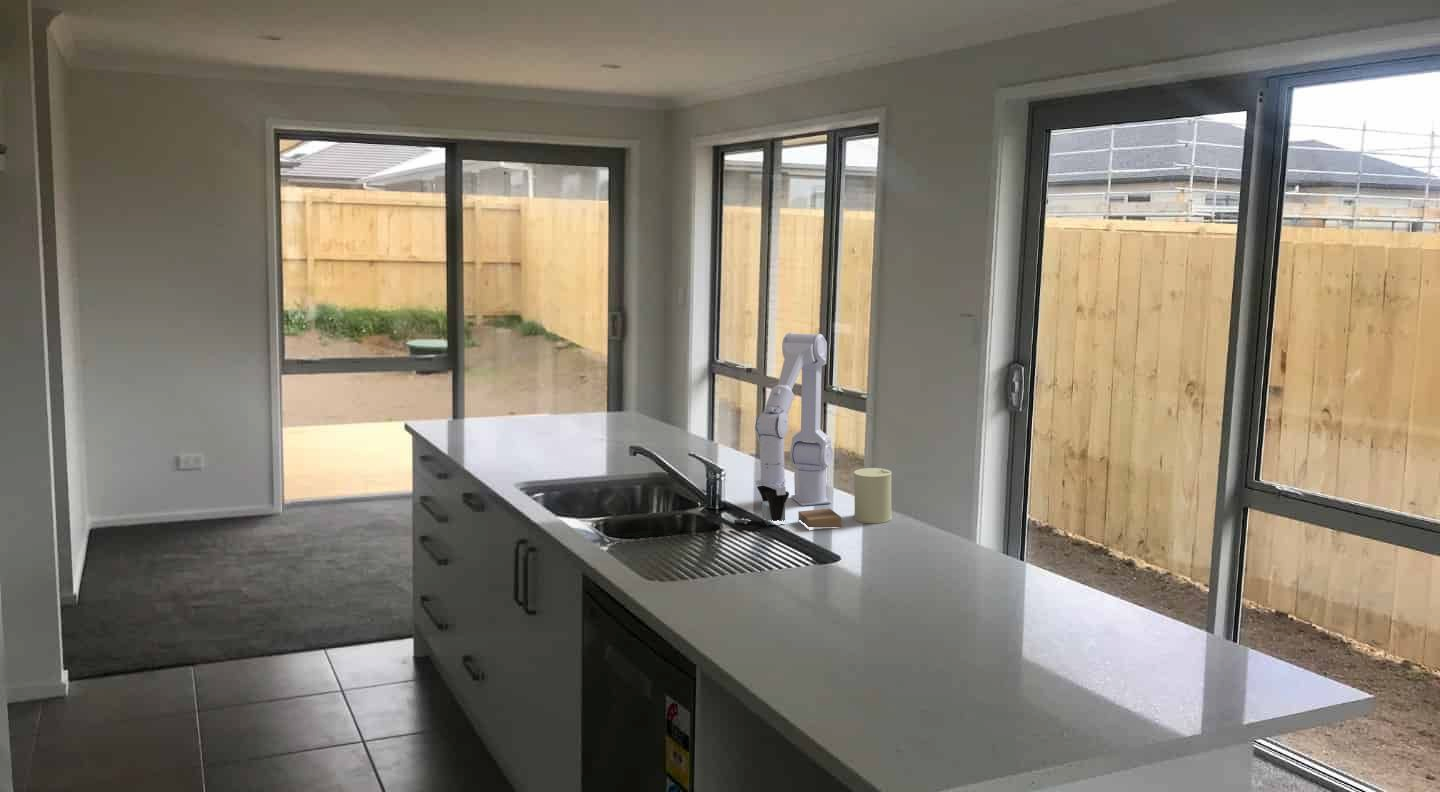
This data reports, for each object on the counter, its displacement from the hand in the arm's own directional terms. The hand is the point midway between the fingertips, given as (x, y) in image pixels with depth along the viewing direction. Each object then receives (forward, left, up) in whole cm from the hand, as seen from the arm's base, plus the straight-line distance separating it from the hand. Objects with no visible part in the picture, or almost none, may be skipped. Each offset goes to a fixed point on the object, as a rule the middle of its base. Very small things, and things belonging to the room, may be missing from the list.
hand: (773, 517), depth 275 cm
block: (0, 0, -1) cm, 1 cm away
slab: (+5, +10, -2) cm, 11 cm away
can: (+4, +24, -2) cm, 24 cm away
